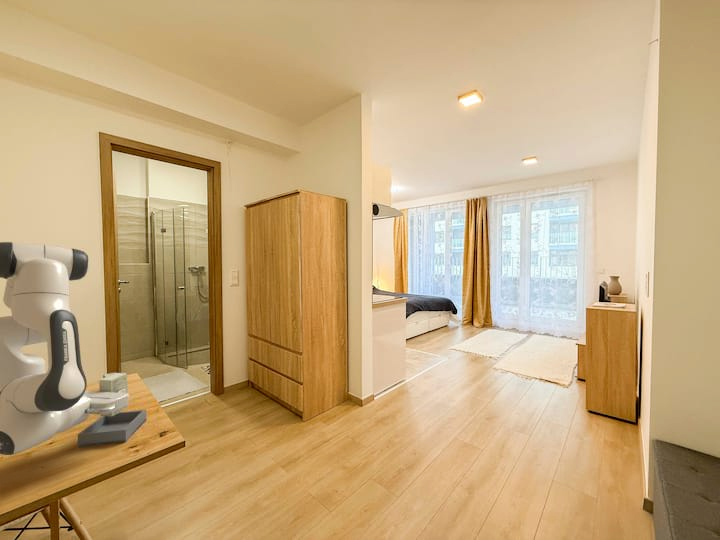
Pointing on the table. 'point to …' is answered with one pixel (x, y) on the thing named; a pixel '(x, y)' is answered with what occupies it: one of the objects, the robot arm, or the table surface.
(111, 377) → the skincare box
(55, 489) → the table surface
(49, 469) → the table surface
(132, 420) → the tray
